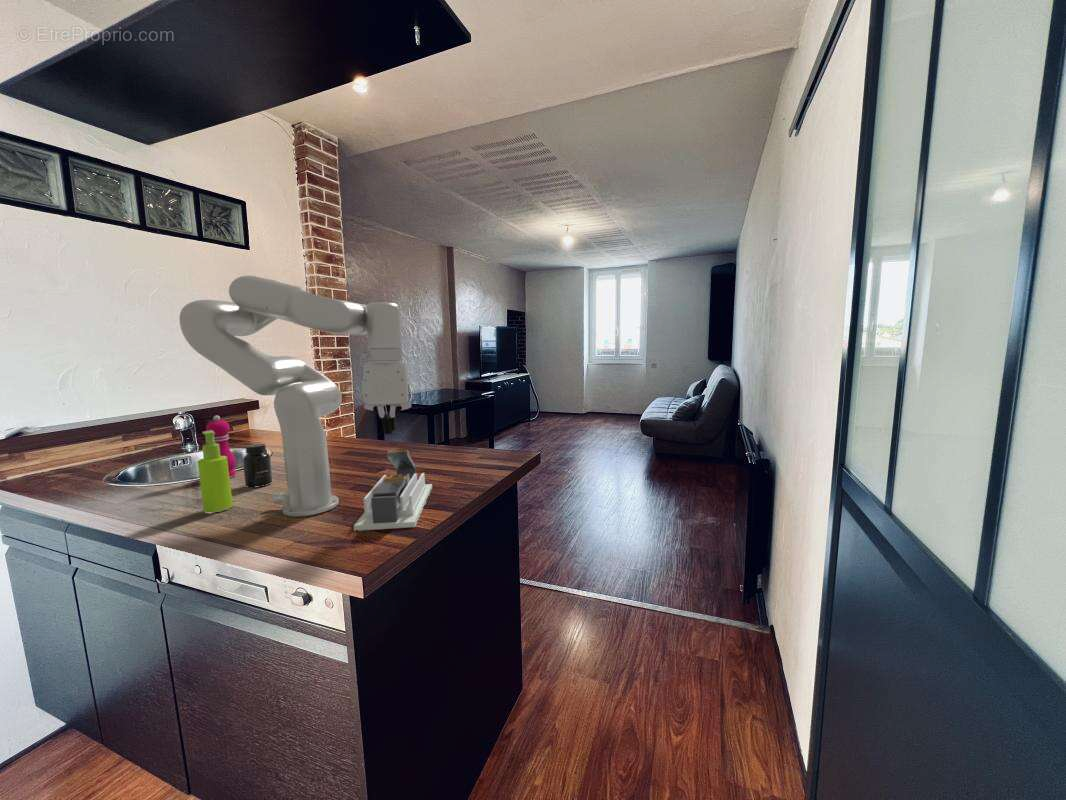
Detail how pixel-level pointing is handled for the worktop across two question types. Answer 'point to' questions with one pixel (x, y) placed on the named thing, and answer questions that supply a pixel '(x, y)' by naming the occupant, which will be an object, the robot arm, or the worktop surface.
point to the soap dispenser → (214, 476)
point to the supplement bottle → (257, 466)
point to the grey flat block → (390, 486)
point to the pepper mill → (222, 441)
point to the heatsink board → (395, 504)
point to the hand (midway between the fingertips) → (389, 433)
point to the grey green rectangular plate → (400, 459)
